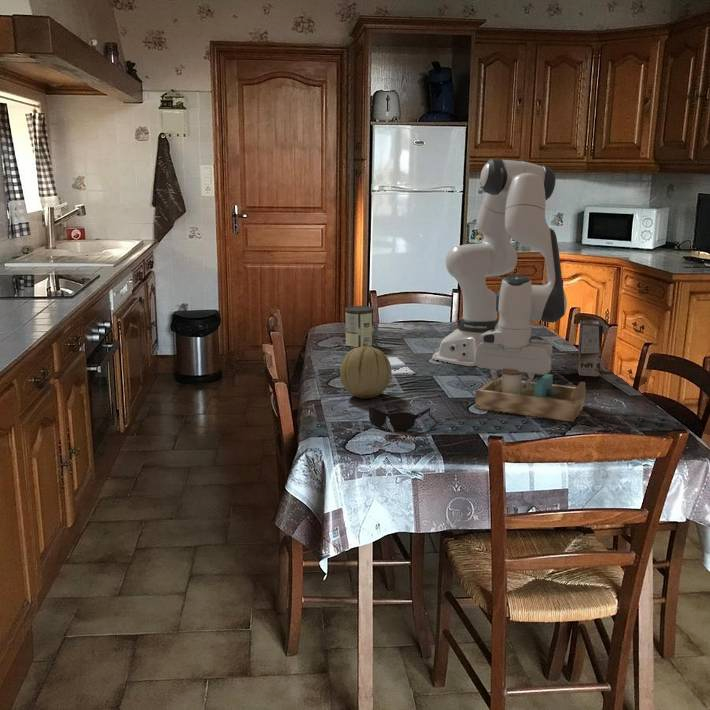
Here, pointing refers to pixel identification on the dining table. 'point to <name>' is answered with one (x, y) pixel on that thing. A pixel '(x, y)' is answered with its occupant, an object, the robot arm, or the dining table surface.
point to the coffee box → (590, 347)
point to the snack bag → (396, 362)
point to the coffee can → (359, 326)
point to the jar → (511, 381)
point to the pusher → (545, 387)
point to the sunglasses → (394, 417)
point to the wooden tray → (533, 401)
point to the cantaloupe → (365, 372)
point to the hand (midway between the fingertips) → (511, 386)
